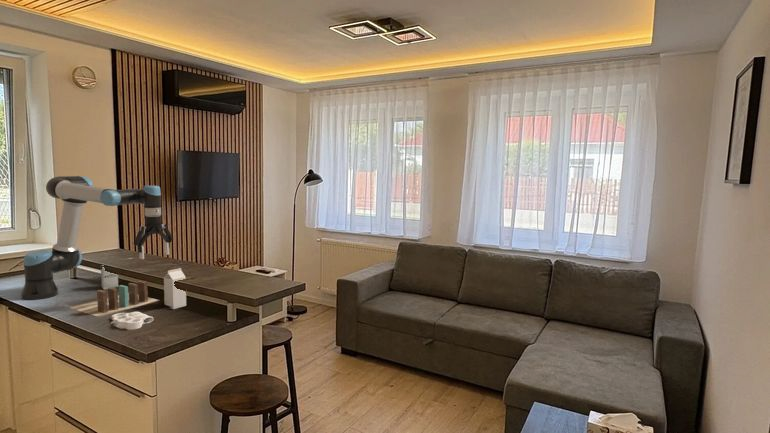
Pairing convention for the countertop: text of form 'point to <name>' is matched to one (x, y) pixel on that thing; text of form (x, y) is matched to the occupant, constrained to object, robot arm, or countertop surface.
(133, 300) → the domino
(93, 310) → the birch board
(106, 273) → the supplement box
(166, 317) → the countertop surface
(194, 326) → the countertop surface
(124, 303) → the domino
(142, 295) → the domino
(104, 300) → the domino
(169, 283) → the milk carton
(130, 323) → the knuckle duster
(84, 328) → the countertop surface
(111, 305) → the domino
